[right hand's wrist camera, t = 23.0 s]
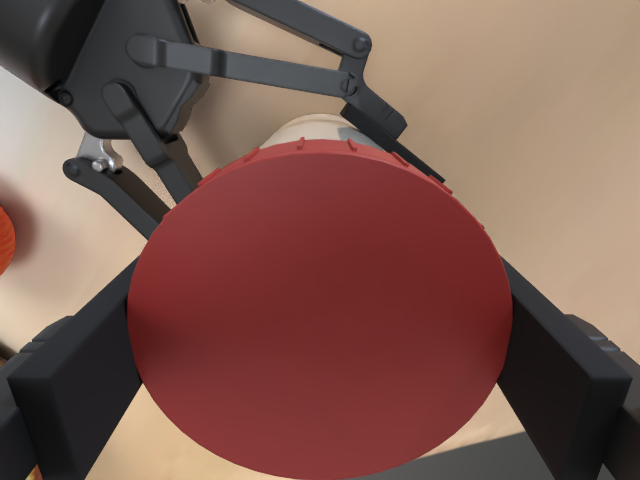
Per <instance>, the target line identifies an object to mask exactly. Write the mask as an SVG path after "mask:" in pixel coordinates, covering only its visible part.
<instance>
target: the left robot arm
mask: <svg viewBox="0 0 640 480" xmlns="http://www.w3.org/2000/svg"><path fill="white" fill-rule="evenodd" d="M186 1H187V0H0V66H2V67H3V68H5V69H6V70H8V71H9V72H11V73H12V74H14V75H15V76H17V77H18V78H20V79H21V80H23V81H24V82H26V83H27V84H29V85H30V86H32V87H33V88H35V89H36V90H38V91H39V92H41V93H42V94H44V95H45V96H47V97H48V98H50V99H52V100H53V101H55V102H57V103H59V104H60V105H62V106H64V107H65V108H67V109H68V110H69V111H70V112H71V113H72V114H73V115H74V116H75V117H76V119H77V120H78V122H79V123H80V125H81V126H82V128H83V129H84V130H85V131H86V132H85V135H84V137H83V140H82V143H81V146H80V148H79V151H78V154H77V156H76V157H75V158H72V159H68V160H67V161H65V162H64V164H63V172H64V174H65V175H66V177H67V178H69V179H70V180H72V181H74V182H76V183H78V184H80V185H82V186H84V187H86V188H88V189H89V190H91V191H93V192H95V193H97V194H99V195H101V196H102V197H103V198H104V199H105V200H106V201H107V202H108V203H109V204H110V205H111V206H112V207H113V208H114V209H115V210H116V211H117V212H119V213H120V214H121V215H122V216H123V217H124V218H125V219H126V220H127V221H128V222H129V223H130V224H131V225H132V226H133V227H134V228H135V229H136V230H137V231H138V232H140V233H141V234H142V235H143V236H144V237H145V238H146V239H147V240H149V238H150V237H151V235H152V233H153V232H154V231H155V230H156V228H157V227H158V226H159V225H160V223H161V222H162V221H163V218H162V217H163V216H164V215H165V214H166V213H168V212H169V211H170V210H171V209H170V208H169V207H168V206H167V205H166V204H165V203H164V202H163V201H162V200H161V199H160V198H159V197H158V196H157V195H156V194H155V193H154V192H153V191H152V190H151V189H150V188H149V187H148V186H147V185H146V184H145V183H144V182H143V181H142V180H141V179H140V178H139V177H138V176H137V175H135V174H134V173H133V172H132V171H130V170H129V169H128V168H126V167H124V166H123V158H122V157H121V156H120V155H118V154H117V153H116V152H115V151H114V150H113V148H112V146H111V140H131V141H132V143H133V144H134V146H135V147H136V149H137V150H138V152H139V153H140V155H141V157H142V158H143V160H144V161H145V163H146V164H147V165H148V166H149V167H151V168H153V169H154V170H155V171H156V172H157V174H158V176H159V177H160V179H161V180H162V182H163V183H164V185H165V187H166V188H167V190H168V191H169V193H170V195H171V196H172V198H173V199H174V201H175V202H176V204H177V205H178V204H179V203H180V202H181V201H182V200H183V199H185V198H186V197H187V196H188V195H189V194H190V193H192V192H193V191H194V190H195V189H197V188H198V187H199V185H198V184H197V183H199V182H200V181H201V180H203V178H202V176H201V175H200V173H199V171H198V169H197V168H196V166H195V164H194V163H193V161H192V159H191V158H190V156H189V154H188V151H187V146H186V144H185V142H184V140H183V139H182V137H181V135H180V133H179V132H180V131H182V130H183V129H184V127H185V125H186V124H187V122H188V120H189V118H190V114H191V110H192V107H193V105H194V104H195V103H196V102H197V101H198V100H199V99H200V98H202V97H203V95H204V94H205V92H206V90H207V89H208V87H209V85H210V84H209V83H208V79H209V75H211V76H217V77H223V78H229V79H235V80H241V81H247V82H252V83H258V84H264V85H270V86H276V87H282V88H287V89H293V90H299V91H305V92H311V93H317V94H322V95H328V96H334V97H340V98H342V99H343V100H344V101H346V102H347V104H346V105H345V107H344V108H343V109H342V111H341V112H340V115H341V116H342V117H343V118H345V119H346V120H347V121H348V122H350V123H351V124H352V125H354V126H355V127H356V128H357V129H359V130H360V131H361V132H362V133H364V134H365V135H366V136H367V137H369V138H370V139H371V140H372V141H374V142H375V143H376V144H378V145H379V146H380V147H381V148H383V149H384V150H385V151H386V152H388V153H390V154H391V153H392V151H393V152H395V153H397V154H398V155H399V156H400V157H401V158H403V159H404V160H405V161H406V162H407V163H409V164H411V165H413V166H414V167H415V168H417V169H418V170H420V171H421V172H422V173H424V174H425V175H426V176H428V177H429V176H430V175H432V176H433V177H434V178H436V179H437V180H438V181H439V182H441V183H442V184H443V182H444V181H445V179H444V178H442V177H441V176H440V175H439V174H437V173H436V172H435V171H434V170H432V169H431V168H430V167H429V166H428V165H426V164H425V163H424V162H423V161H421V160H420V159H419V158H418V157H416V156H415V155H414V154H413V153H411V152H410V151H409V150H408V149H406V148H405V147H404V146H403V145H402V144H400V143H399V142H398V141H397V140H396V139H397V138H398V137H399V136H400V134H401V133H402V132H403V131H404V129H405V128H406V127H407V126H408V125H407V123H406V121H405V119H404V117H403V116H402V115H401V114H400V113H398V112H397V111H396V110H395V109H394V108H392V107H391V106H390V105H389V104H387V103H386V102H385V101H384V100H383V99H381V98H380V97H379V96H378V95H377V94H375V93H374V92H373V91H372V90H371V89H369V88H368V87H367V86H366V84H365V82H364V79H363V72H364V68H365V65H366V61H367V58H368V55H369V52H370V51H371V47H372V42H371V39H370V37H369V35H368V34H366V33H365V32H363V31H361V30H359V29H357V28H355V27H353V26H351V25H349V24H347V23H344V22H342V21H340V20H338V19H336V18H334V17H332V16H330V15H328V14H326V13H324V12H322V11H320V10H318V9H315V8H313V7H311V6H309V5H307V4H305V3H303V2H301V1H299V0H226V1H227V2H229V3H230V4H231V5H233V6H235V7H237V8H239V9H241V10H243V11H245V12H247V13H249V14H251V15H253V16H255V17H258V18H260V19H262V20H264V21H266V22H268V23H270V24H273V25H275V26H277V27H279V28H281V29H283V30H285V31H287V32H290V33H292V34H294V35H296V36H298V37H300V38H302V39H305V40H307V41H309V42H311V43H313V44H315V45H317V46H319V47H322V48H324V49H326V50H328V51H330V52H332V53H334V54H337V55H339V56H341V57H342V59H341V62H340V65H339V69H338V71H336V70H330V69H325V68H319V67H313V66H307V65H302V64H296V63H290V62H285V61H279V60H273V59H267V58H262V57H256V56H250V55H245V54H239V53H233V52H228V51H223V50H218V49H213V48H208V47H202V46H200V43H199V41H198V38H197V35H196V33H195V30H194V28H193V25H192V22H191V20H190V17H189V14H188V12H187V9H186V7H185V2H186ZM201 1H202V2H204V3H213V2H215V1H216V0H201Z"/></svg>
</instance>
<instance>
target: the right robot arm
mask: <svg viewBox="0 0 640 480" xmlns="http://www.w3.org/2000/svg"><path fill="white" fill-rule="evenodd" d="M499 256H500V255H499ZM139 257H140V255H139V256H138V257H137V258H136V259H135V260H134V261H133V262H132V263H131V264H130V265H128V266H127V267H126V268H125V269H124V270H123V271H122V272H121V273H120V274H119V275H118V276H117V277H115V278H114V279H113V280H112V281H111V282H110V283H109V284H108V285H107V286H106V287H105V288H103V289H102V290H101V291H100V292H99V293H98V294H97V295H96V296H95V297H94V298H93V299H92V300H90V301H89V302H88V303H87V304H86V305H85V306H84V307H83V308H82V309H81V310H80V311H79V312H77V313H76V314H75V315H74V316H66V317H64V318H62V319H60V320H58V321H57V322H55V323H53V324H51V325H49V326H47V327H46V328H45V329H44V330H42V331H41V332H40V333H39V334H38V335H37V336H36V337H34V338H33V339H32V342H29V343H28V344H26V345H25V346H24V347H23V348H22V349H21V350H20V352H19V353H16V354H15V355H14V356H13V357H11V358H10V359H9V360H8V361H7V362H6V363H5V364H3V365H2V366H1V367H0V480H26V478H27V477H28V476H29V474H30V473H31V472H32V470H33V469H34V468H35V466H36V465H38V467H39V470H40V473H41V476H42V479H43V480H84V479H85V478H86V476H87V474H88V473H89V471H90V469H91V468H92V466H93V465H94V463H95V461H96V460H97V458H98V456H99V455H100V453H101V451H102V450H103V448H104V446H105V445H106V443H107V441H108V440H109V438H110V436H111V435H112V433H113V431H114V430H115V428H116V426H117V425H118V423H119V421H120V420H121V418H122V416H123V415H124V413H125V411H126V410H127V408H128V406H129V405H130V403H131V401H132V400H133V398H134V396H135V395H136V393H137V391H138V390H139V388H140V387H141V385H142V383H143V382H142V379H141V377H140V375H139V373H138V370H137V368H136V364H135V360H134V355H133V351H132V346H131V341H130V336H129V331H128V326H127V299H128V294H129V289H130V284H131V279H132V275H133V273H134V270H135V267H136V265H137V262H138V259H139ZM500 258H501V260H502V263H503V266H504V269H505V272H506V275H507V278H508V281H509V286H510V292H511V298H512V304H513V322H512V328H511V333H510V338H509V343H508V348H507V352H506V357H505V362H504V366H503V369H502V371H501V374H500V376H499V378H498V380H497V384H498V386H499V387H500V389H501V391H502V392H503V394H504V396H505V397H506V399H507V400H508V402H509V404H510V405H511V407H512V409H513V410H514V412H515V414H516V415H517V417H518V419H519V420H520V422H521V424H522V425H523V427H524V429H525V430H526V432H527V434H528V435H529V437H530V439H531V440H532V442H533V444H534V445H535V447H536V449H537V450H538V452H539V454H540V455H541V457H542V459H543V460H544V462H545V464H546V465H547V467H548V468H549V470H550V472H551V473H552V475H553V477H554V478H555V480H597V477H598V474H599V472H600V469H601V466H602V463H604V465H605V466H606V467H607V469H608V470H609V471H610V473H611V474H612V475H613V477H614V478H615V479H616V480H640V365H638V364H637V363H636V362H635V361H634V360H633V359H632V358H630V357H629V356H628V355H627V354H626V353H625V352H621V351H620V348H619V347H618V346H616V345H615V344H614V343H613V342H612V341H608V338H607V337H606V336H605V335H604V334H603V333H601V332H600V331H599V330H598V329H597V328H596V327H594V326H593V325H592V324H590V323H588V322H586V321H584V320H582V319H580V318H579V317H577V316H575V315H573V314H563V313H562V312H561V311H560V310H559V309H558V308H557V307H556V306H554V305H553V304H552V303H551V302H550V301H549V300H548V299H547V298H546V297H545V296H544V295H543V294H541V293H540V292H539V291H538V290H537V289H536V288H535V287H534V286H533V285H532V284H531V283H530V282H528V281H527V280H526V279H525V278H524V277H523V276H522V275H521V274H520V273H519V272H518V271H517V270H515V269H514V268H513V267H512V266H511V265H510V264H509V263H508V262H507V261H506V260H505V259H503V258H502V257H501V256H500Z"/></svg>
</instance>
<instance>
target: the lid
mask: <svg viewBox="0 0 640 480" xmlns="http://www.w3.org/2000/svg"><path fill="white" fill-rule="evenodd" d="M197 184H198V185H199V187H198V188H197V189H195V190H194V191H193V192H192V193H190V194H189V195H188V196H187V197H186V198H185V199H183V200H182V201H181V202H180V203H179V204H178V205H176V206H175V207H174V208H173V209H171V210H170V211H169V212H168V213H166V214H165V215H164V216H163V217H162V218H163V221H162V222H161V223H160V225H159V226H158V227H157V228H156V230H155V231H154V232H153V233H152V235H151V237H150V238H149V240H148V242H147V244H146V245H145V247H144V249H143V251H142V252H141V254H140V257H139V259H138V262H137V265H136V267H135V270H134V273H133V275H132V279H131V284H130V289H129V294H128V299H127V326H128V331H129V336H130V341H131V346H132V351H133V355H134V360H135V364H136V368H137V370H138V373H139V375H140V377H141V379H142V382H143V384H144V385H145V387H146V389H147V390H148V392H149V393H150V395H151V397H152V398H153V400H154V401H155V403H156V404H157V405H158V406H159V408H160V409H161V410H162V411H163V413H164V414H165V415H166V416H167V417H168V418H169V419H170V420H171V421H172V422H173V423H174V424H175V425H176V426H177V427H178V428H179V429H180V430H181V431H182V432H183V433H185V434H186V435H187V436H189V437H190V438H191V439H192V440H194V441H195V442H196V443H198V444H199V445H201V446H202V447H204V448H206V449H207V450H209V451H211V452H212V453H214V454H216V455H217V456H220V457H222V458H224V459H226V460H228V461H230V462H232V463H234V464H237V465H240V466H243V467H245V468H248V469H251V470H254V471H257V472H261V473H265V474H269V475H273V476H278V477H285V478H292V479H302V480H339V479H347V478H355V477H361V476H365V475H370V474H374V473H379V472H382V471H385V470H388V469H391V468H394V467H397V466H400V465H402V464H405V463H407V462H409V461H411V460H414V459H416V458H418V457H420V456H422V455H423V454H425V453H427V452H429V451H430V450H432V449H434V448H436V447H437V446H439V445H440V444H441V443H443V442H444V441H446V440H447V439H448V438H450V437H451V436H452V435H454V434H455V433H456V432H457V431H458V430H459V429H460V428H461V427H462V426H464V425H465V424H466V423H467V422H468V421H469V420H470V419H471V418H472V416H473V415H474V414H475V413H476V412H477V411H478V409H479V408H480V407H481V406H482V405H483V403H484V402H485V400H486V399H487V397H488V396H489V394H490V393H491V391H492V389H493V388H494V386H495V384H496V382H497V380H498V378H499V376H500V374H501V371H502V369H503V366H504V362H505V357H506V352H507V348H508V343H509V338H510V333H511V328H512V322H513V304H512V298H511V292H510V286H509V281H508V278H507V275H506V272H505V269H504V266H503V263H502V260H501V258H500V256H499V254H498V252H497V250H496V248H495V246H494V244H493V243H492V241H491V239H490V237H489V236H488V234H487V233H486V232H485V230H484V229H485V228H484V227H483V225H482V224H480V223H479V222H478V221H477V220H476V218H475V217H474V216H473V215H472V214H471V213H470V212H469V211H468V210H467V209H466V208H465V207H464V206H463V205H462V204H461V203H460V202H459V201H458V200H457V199H455V198H454V197H453V196H451V194H452V193H453V192H452V191H451V190H450V189H449V188H447V187H446V186H445V185H443V184H442V183H441V182H439V181H438V180H437V179H436V178H434V177H433V176H432V175H430V176H429V177H428V176H426V175H425V174H424V173H422V172H421V171H420V170H418V169H417V168H415V167H414V166H413V165H411V164H409V163H407V162H406V161H405V160H404V159H403V158H401V157H400V156H399V155H398V154H397V153H395V152H393V151H392V153H391V154H390V153H387V152H385V151H382V150H379V149H376V148H374V147H371V146H367V145H363V144H358V143H354V142H353V140H352V139H349V138H348V140H347V141H342V140H329V139H311V140H305V137H300V140H297V141H291V142H286V143H281V144H276V145H272V146H269V147H266V148H263V149H259V147H256V148H255V149H254V150H252V151H251V152H250V153H249V154H248V155H246V156H244V157H242V158H240V159H238V160H236V161H234V162H232V163H230V164H229V165H227V166H226V167H224V168H223V169H221V170H220V169H219V168H217V169H216V170H214V171H213V172H212V173H210V174H209V175H208V176H206V177H205V178H204V179H203V180H201V181H200V182H199V183H197Z"/></svg>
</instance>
